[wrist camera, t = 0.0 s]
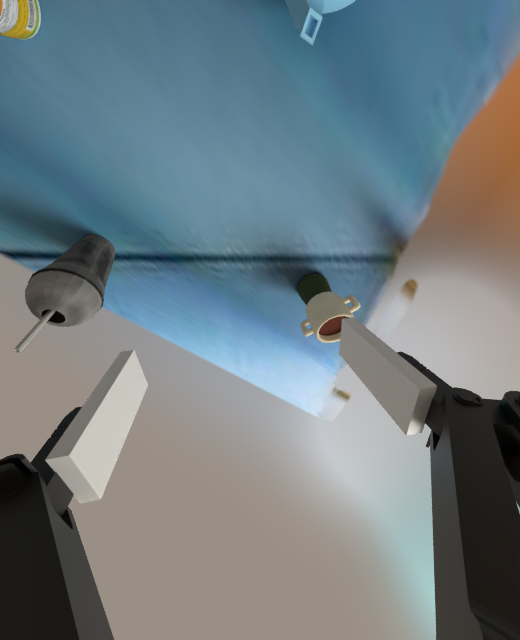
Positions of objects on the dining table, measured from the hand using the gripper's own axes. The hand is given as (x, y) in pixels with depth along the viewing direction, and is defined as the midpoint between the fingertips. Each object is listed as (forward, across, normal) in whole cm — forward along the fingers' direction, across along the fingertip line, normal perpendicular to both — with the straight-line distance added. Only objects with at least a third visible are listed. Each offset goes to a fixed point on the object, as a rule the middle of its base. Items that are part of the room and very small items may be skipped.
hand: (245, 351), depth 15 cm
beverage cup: (+28, -20, +4) cm, 35 cm away
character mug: (+32, +16, -7) cm, 37 cm away
